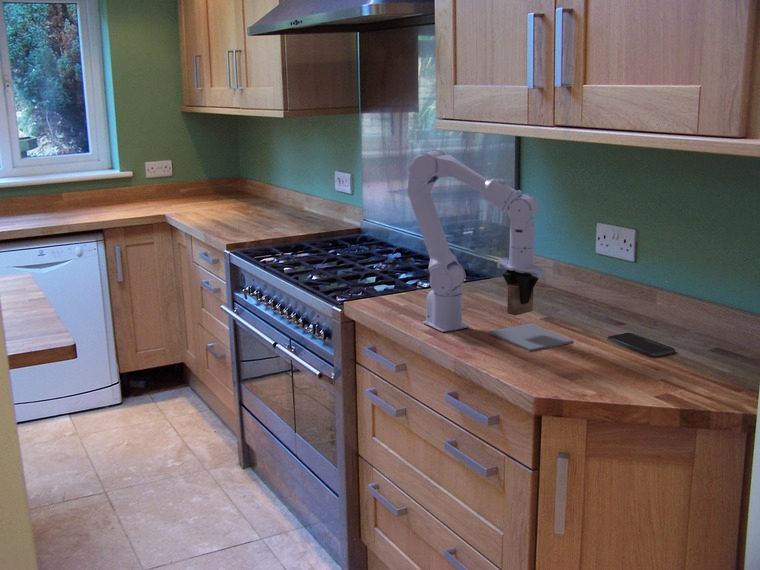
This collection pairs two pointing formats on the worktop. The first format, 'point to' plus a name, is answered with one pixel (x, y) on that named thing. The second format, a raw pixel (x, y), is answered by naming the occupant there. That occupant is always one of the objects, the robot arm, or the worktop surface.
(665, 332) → the worktop surface
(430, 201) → the robot arm
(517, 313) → the brown wooden block
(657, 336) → the worktop surface
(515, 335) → the rubber mat
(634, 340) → the phone
